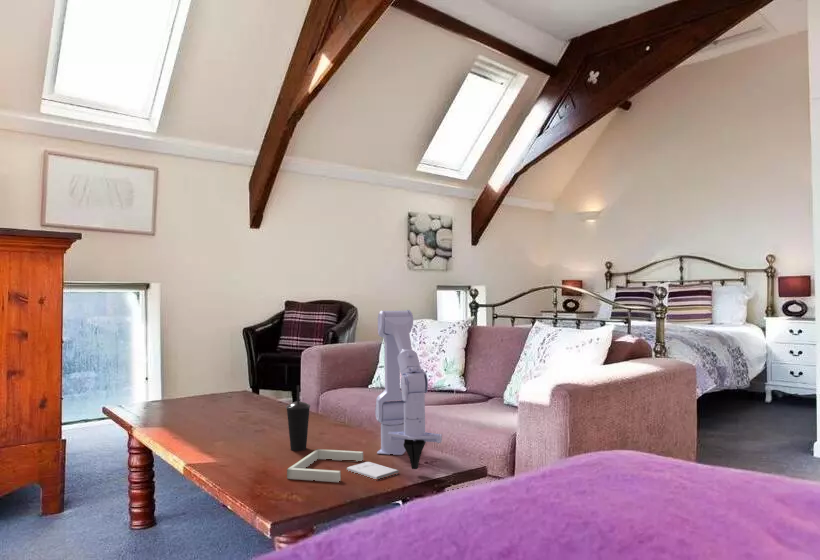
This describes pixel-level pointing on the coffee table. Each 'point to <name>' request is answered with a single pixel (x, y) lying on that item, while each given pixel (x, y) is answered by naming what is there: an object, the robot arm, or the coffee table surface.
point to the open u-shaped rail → (321, 475)
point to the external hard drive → (372, 470)
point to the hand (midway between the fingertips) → (415, 468)
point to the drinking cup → (298, 423)
